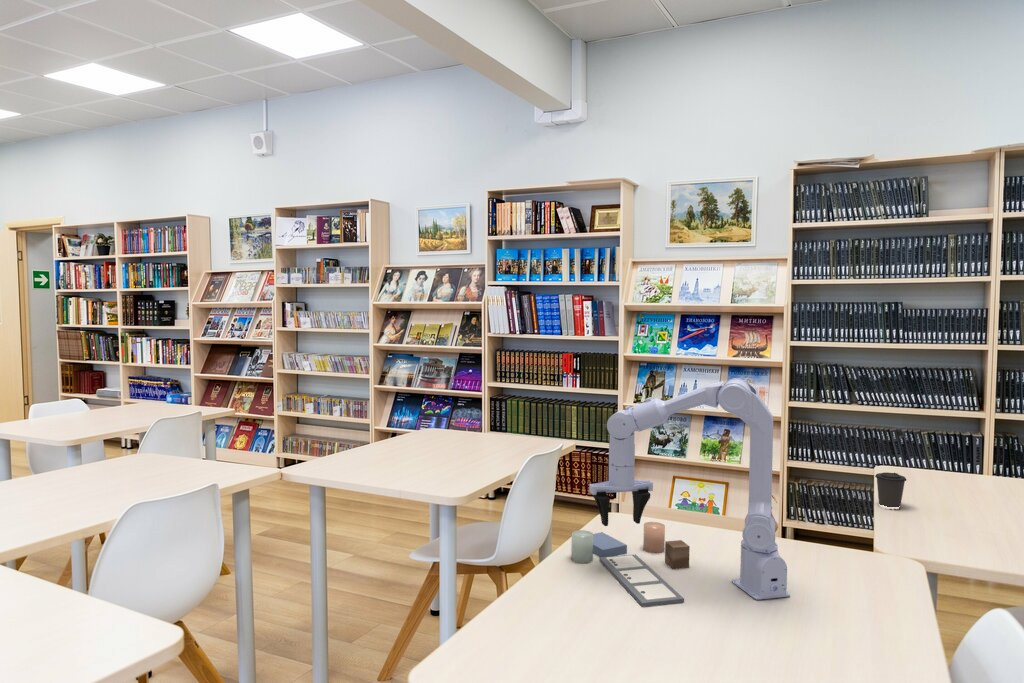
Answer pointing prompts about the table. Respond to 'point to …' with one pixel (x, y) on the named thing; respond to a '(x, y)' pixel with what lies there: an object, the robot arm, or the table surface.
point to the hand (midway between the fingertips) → (620, 523)
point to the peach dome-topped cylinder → (654, 537)
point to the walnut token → (677, 554)
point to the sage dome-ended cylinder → (582, 546)
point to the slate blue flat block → (607, 545)
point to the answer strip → (641, 581)
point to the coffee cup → (890, 489)
